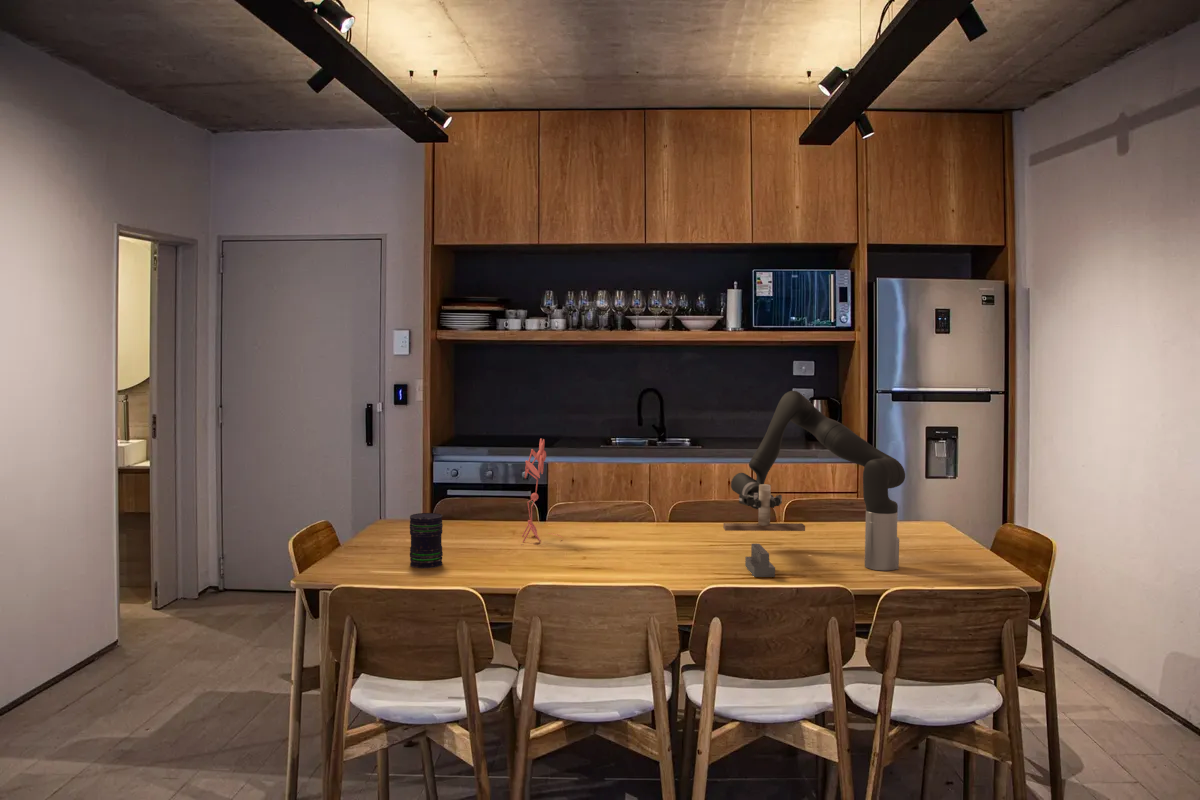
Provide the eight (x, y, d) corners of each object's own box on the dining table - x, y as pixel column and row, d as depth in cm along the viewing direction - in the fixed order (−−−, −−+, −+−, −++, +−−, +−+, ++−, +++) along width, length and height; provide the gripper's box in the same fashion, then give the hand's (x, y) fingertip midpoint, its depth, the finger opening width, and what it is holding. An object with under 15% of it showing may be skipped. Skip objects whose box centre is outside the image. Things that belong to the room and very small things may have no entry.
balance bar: (802, 528, 281) (803, 484, 280) (805, 531, 277) (806, 486, 276) (723, 527, 281) (724, 483, 280) (725, 530, 277) (726, 486, 276)
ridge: (764, 566, 281) (765, 543, 280) (774, 577, 267) (775, 553, 266) (745, 566, 281) (745, 543, 280) (754, 577, 267) (754, 553, 266)
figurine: (520, 547, 304) (523, 441, 303) (519, 532, 330) (521, 434, 328) (567, 547, 306) (570, 442, 304) (561, 532, 332) (564, 435, 330)
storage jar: (414, 560, 285) (413, 512, 284) (445, 560, 285) (445, 513, 284) (406, 568, 275) (406, 518, 274) (438, 568, 275) (438, 519, 274)
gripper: (733, 483, 292) (743, 491, 275) (778, 483, 292) (790, 492, 275) (733, 506, 293) (742, 516, 275) (777, 506, 293) (789, 517, 276)
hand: (766, 504), depth 275 cm, fingers closed on balance bar, 3 cm apart
